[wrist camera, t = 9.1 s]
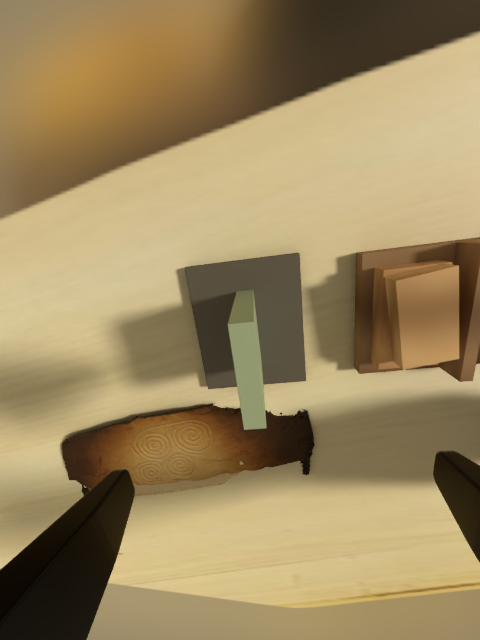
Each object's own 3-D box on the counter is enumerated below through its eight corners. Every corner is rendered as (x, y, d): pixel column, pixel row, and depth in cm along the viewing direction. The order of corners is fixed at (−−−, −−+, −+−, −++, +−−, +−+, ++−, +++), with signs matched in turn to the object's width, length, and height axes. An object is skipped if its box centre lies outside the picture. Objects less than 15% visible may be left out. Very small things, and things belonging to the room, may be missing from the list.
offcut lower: (426, 356, 19) (438, 364, 17) (370, 361, 19) (378, 369, 18) (438, 260, 16) (452, 262, 15) (374, 267, 17) (383, 270, 16)
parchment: (85, 500, 27) (80, 508, 26) (42, 428, 24) (35, 435, 23) (317, 467, 25) (319, 476, 24) (303, 383, 21) (305, 389, 21)
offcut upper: (444, 350, 17) (459, 358, 16) (392, 360, 18) (402, 370, 16) (443, 263, 15) (459, 265, 14) (384, 277, 16) (395, 280, 15)
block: (261, 363, 20) (266, 428, 13) (246, 365, 20) (243, 429, 13) (253, 289, 18) (253, 321, 11) (236, 291, 18) (227, 324, 12)
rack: (487, 355, 19) (535, 380, 16) (354, 367, 20) (374, 393, 17) (512, 233, 17) (577, 233, 13) (356, 252, 17) (380, 257, 14)
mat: (304, 376, 21) (305, 380, 20) (209, 384, 21) (208, 389, 21) (297, 252, 18) (299, 253, 17) (186, 266, 18) (184, 267, 18)
